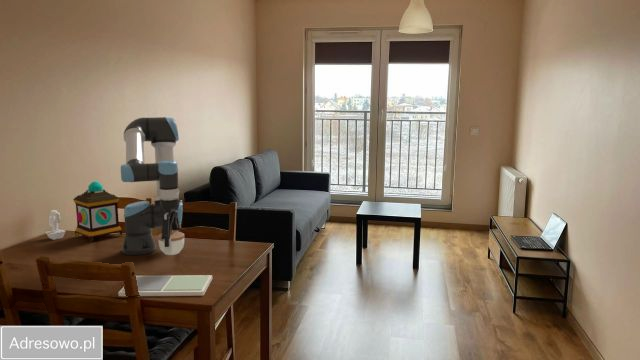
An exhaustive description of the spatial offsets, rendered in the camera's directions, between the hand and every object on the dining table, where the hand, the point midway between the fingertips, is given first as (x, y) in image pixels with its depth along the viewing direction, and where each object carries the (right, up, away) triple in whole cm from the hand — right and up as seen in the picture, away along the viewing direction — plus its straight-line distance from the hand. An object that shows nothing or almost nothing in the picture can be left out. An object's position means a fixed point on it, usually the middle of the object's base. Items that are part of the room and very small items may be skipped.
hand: (171, 249), depth 198 cm
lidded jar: (0, -2, 0) cm, 2 cm away
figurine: (-76, -2, +49) cm, 91 cm away
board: (+4, -12, -17) cm, 21 cm away
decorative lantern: (-56, -1, +53) cm, 77 cm away
